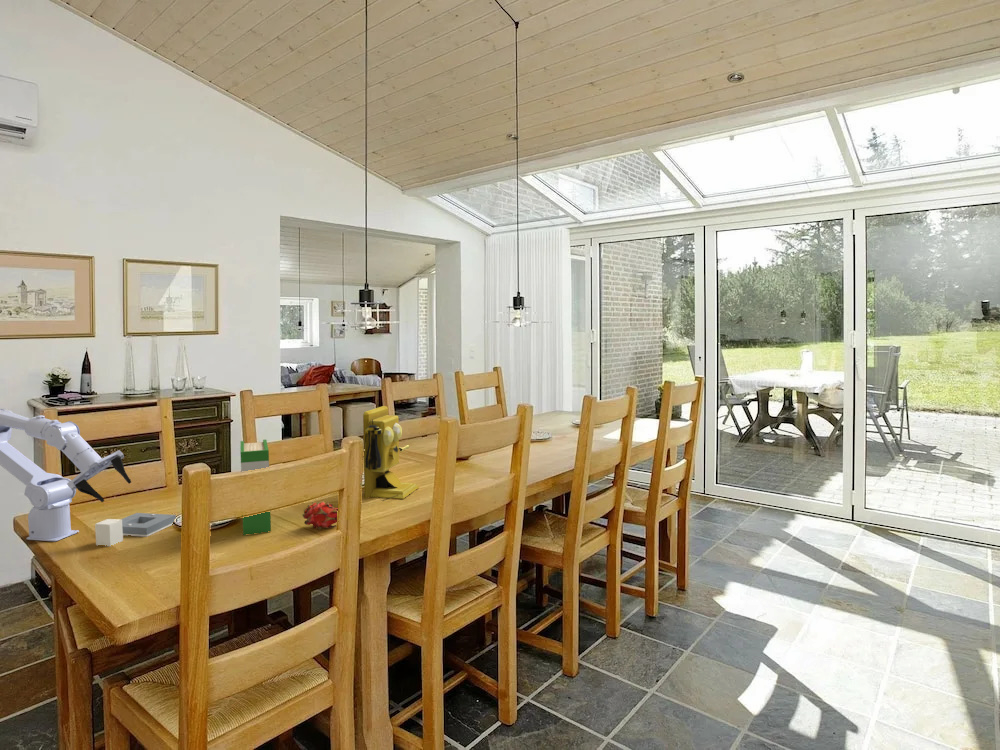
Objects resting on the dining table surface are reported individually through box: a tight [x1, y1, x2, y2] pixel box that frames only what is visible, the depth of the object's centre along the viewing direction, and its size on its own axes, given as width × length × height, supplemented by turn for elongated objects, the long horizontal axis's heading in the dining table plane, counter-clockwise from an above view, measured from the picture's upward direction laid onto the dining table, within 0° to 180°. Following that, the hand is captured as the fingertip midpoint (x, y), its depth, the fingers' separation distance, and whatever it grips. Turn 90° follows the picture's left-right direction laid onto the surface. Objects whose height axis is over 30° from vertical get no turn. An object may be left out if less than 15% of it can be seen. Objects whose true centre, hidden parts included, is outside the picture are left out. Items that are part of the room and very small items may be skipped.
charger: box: [94, 518, 124, 547], centre depth 167 cm, size 4×4×6 cm
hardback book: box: [239, 439, 272, 536], centre depth 182 cm, size 18×7×24 cm, turn 23°
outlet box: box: [119, 512, 177, 538], centre depth 179 cm, size 13×12×3 cm
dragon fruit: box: [302, 500, 338, 530], centre depth 180 cm, size 8×8×12 cm
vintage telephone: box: [362, 405, 420, 502], centre depth 216 cm, size 31×14×30 cm, turn 167°
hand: (116, 490), depth 166 cm, fingers open, 7 cm apart
